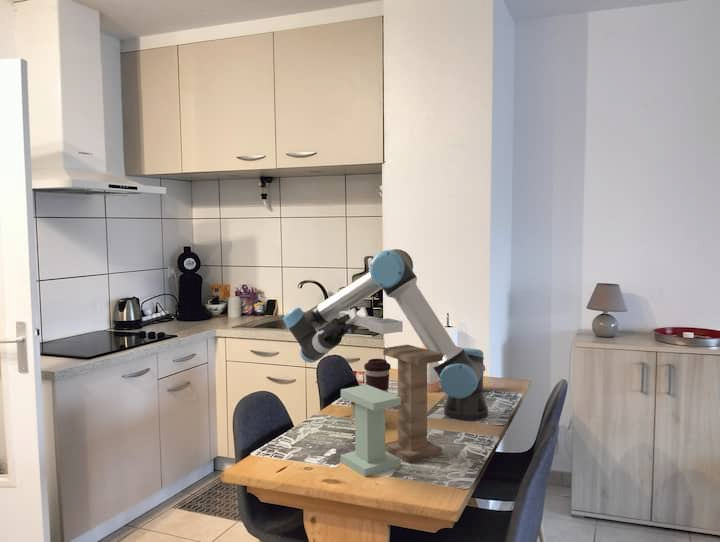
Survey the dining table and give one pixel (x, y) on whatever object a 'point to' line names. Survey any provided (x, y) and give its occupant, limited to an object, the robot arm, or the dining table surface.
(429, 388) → the pepper shaker
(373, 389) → the low stand
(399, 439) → the tall stand
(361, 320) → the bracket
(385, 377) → the coffee cup
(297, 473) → the dining table surface
